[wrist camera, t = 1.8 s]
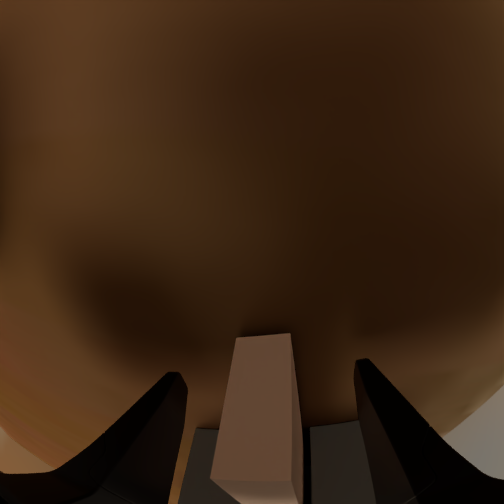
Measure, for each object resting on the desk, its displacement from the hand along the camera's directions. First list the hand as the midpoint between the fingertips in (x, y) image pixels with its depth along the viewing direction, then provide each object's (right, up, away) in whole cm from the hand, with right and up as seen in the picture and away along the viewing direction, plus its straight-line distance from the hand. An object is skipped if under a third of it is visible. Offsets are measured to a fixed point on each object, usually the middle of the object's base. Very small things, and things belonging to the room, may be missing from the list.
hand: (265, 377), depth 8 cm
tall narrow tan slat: (+1, -3, +3) cm, 4 cm away
